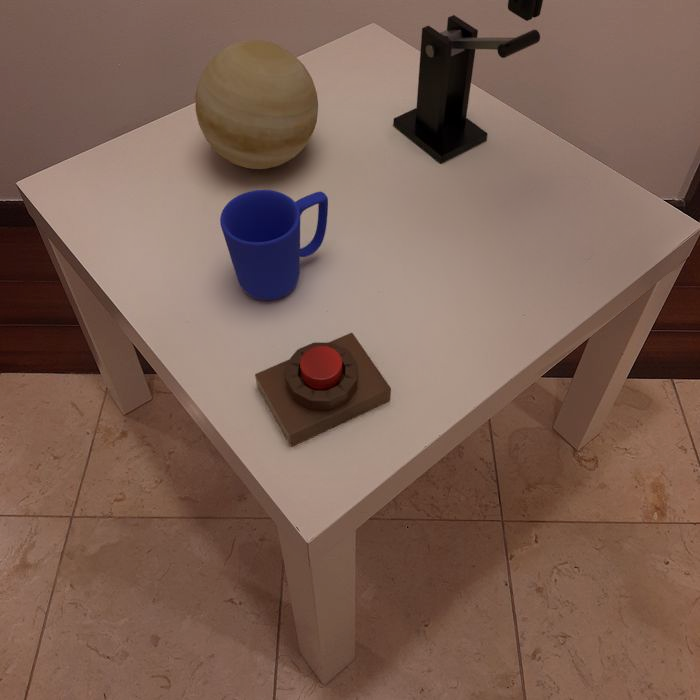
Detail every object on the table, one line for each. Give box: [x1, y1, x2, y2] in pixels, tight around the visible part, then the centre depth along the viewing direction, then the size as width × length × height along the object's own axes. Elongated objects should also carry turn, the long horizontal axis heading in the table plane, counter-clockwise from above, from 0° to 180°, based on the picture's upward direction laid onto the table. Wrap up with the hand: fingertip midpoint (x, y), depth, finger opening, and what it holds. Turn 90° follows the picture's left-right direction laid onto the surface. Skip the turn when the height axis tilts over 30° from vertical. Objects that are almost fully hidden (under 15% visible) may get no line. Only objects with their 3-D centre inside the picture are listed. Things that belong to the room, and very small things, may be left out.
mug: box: [219, 189, 329, 301], centre depth 80 cm, size 8×12×10 cm
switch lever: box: [440, 29, 541, 59], centre depth 85 cm, size 14×5×2 cm, turn 36°
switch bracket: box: [392, 14, 489, 165], centre depth 94 cm, size 10×8×15 cm
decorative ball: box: [194, 39, 319, 170], centre depth 91 cm, size 15×15×15 cm
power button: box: [300, 346, 342, 390], centre depth 71 cm, size 4×4×2 cm
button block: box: [254, 332, 392, 447], centre depth 73 cm, size 11×8×4 cm
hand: (523, 12), depth 77 cm, fingers closed
